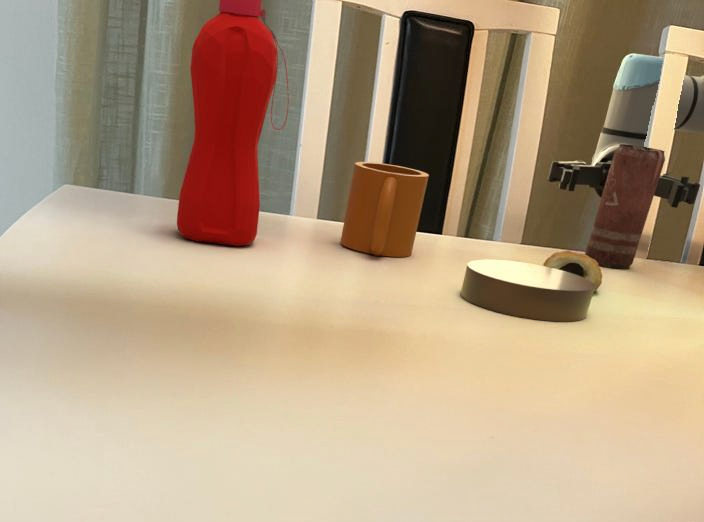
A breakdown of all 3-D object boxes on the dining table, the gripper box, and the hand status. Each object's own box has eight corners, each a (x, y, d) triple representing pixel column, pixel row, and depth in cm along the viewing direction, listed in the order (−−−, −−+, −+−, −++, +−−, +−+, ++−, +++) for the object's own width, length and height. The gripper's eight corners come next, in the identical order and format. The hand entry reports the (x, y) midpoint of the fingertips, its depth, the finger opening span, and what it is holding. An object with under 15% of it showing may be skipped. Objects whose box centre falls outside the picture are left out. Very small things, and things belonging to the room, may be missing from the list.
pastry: (541, 272, 121) (551, 239, 119) (598, 283, 120) (609, 250, 118) (536, 286, 113) (546, 251, 111) (597, 298, 112) (608, 262, 110)
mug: (324, 251, 117) (338, 167, 112) (349, 237, 127) (363, 159, 122) (399, 265, 115) (416, 180, 110) (419, 250, 125) (435, 171, 120)
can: (616, 270, 128) (653, 150, 121) (574, 259, 132) (607, 142, 125) (641, 268, 132) (678, 151, 125) (599, 257, 136) (633, 143, 128)
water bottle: (271, 253, 112) (306, -12, 99) (173, 240, 112) (196, -27, 99) (269, 237, 120) (301, -9, 107) (178, 226, 120) (199, -23, 107)
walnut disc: (613, 320, 103) (622, 290, 101) (519, 323, 97) (527, 291, 95) (525, 287, 112) (533, 259, 111) (435, 288, 106) (441, 258, 105)
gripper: (695, 213, 152) (711, 233, 134) (529, 187, 156) (524, 203, 139) (713, 159, 148) (733, 172, 130) (542, 133, 153) (539, 143, 135)
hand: (625, 188), depth 135 cm, fingers open, 13 cm apart
